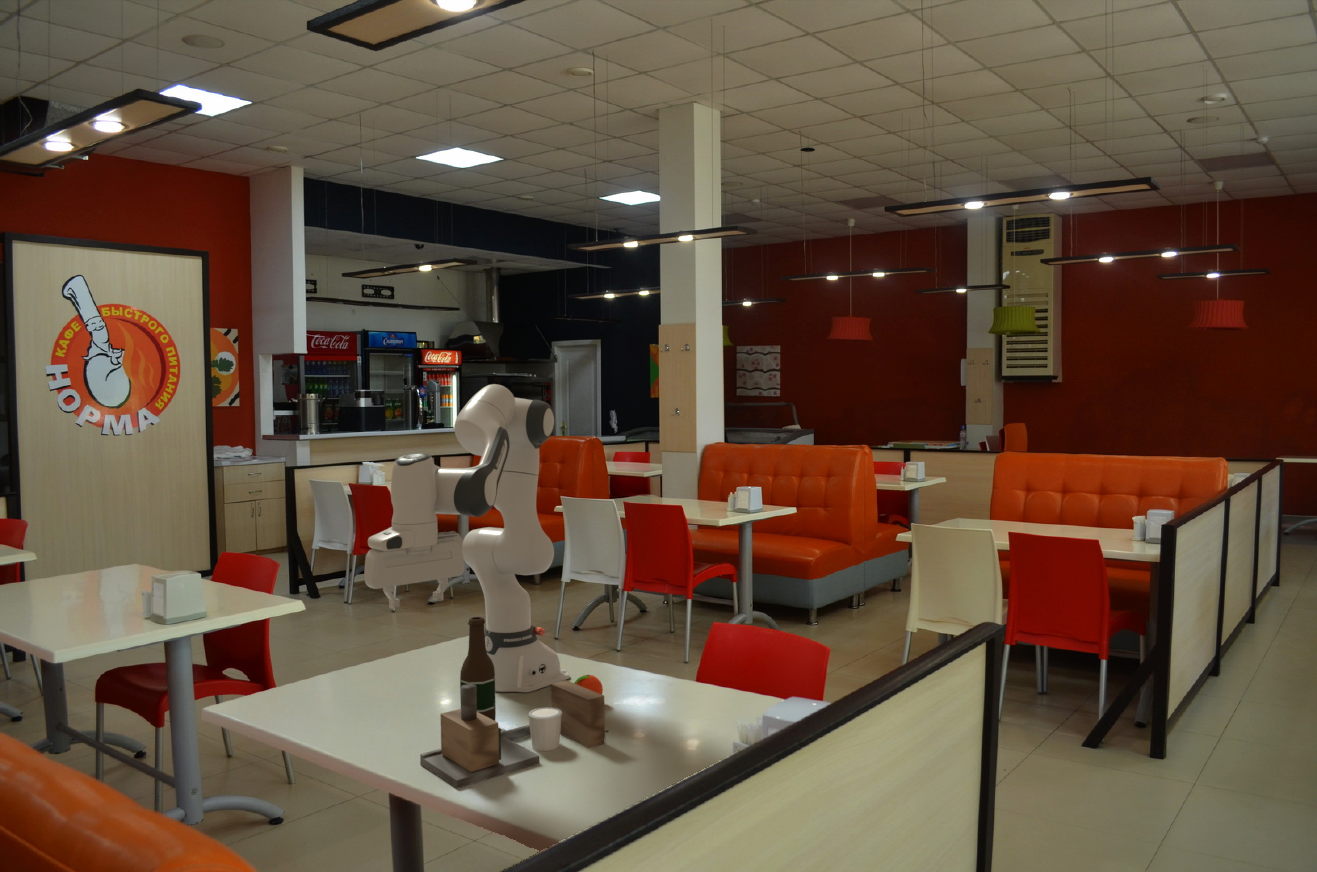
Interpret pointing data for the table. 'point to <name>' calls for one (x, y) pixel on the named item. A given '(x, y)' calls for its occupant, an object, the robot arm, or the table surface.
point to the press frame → (577, 723)
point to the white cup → (545, 728)
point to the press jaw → (470, 734)
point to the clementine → (590, 683)
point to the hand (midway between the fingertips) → (416, 604)
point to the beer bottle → (479, 669)
